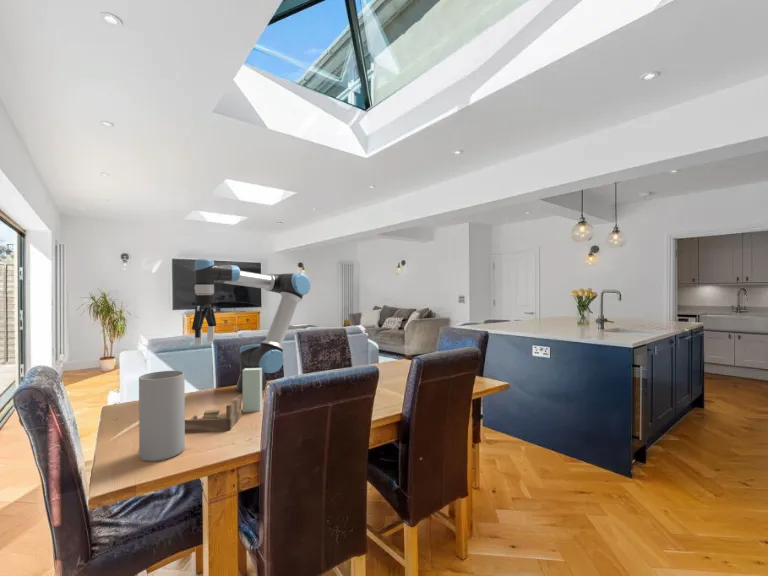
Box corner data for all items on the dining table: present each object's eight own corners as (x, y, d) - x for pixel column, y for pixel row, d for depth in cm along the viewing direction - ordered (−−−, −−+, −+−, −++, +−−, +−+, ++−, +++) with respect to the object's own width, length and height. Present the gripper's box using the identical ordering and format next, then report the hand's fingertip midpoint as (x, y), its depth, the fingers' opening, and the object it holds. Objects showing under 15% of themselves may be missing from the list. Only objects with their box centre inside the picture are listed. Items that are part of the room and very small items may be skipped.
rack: (194, 421, 148) (194, 396, 148) (241, 420, 150) (241, 394, 150) (178, 435, 134) (177, 407, 134) (229, 433, 136) (229, 405, 136)
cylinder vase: (191, 452, 120) (190, 374, 120) (146, 466, 111) (146, 381, 111) (176, 442, 129) (176, 369, 129) (134, 454, 119) (133, 375, 119)
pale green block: (245, 410, 160) (245, 368, 160) (262, 409, 161) (262, 367, 161) (242, 413, 156) (242, 370, 156) (259, 412, 157) (259, 369, 157)
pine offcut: (205, 414, 148) (205, 409, 148) (219, 413, 149) (219, 408, 149) (203, 417, 144) (203, 412, 144) (217, 416, 145) (217, 411, 145)
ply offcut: (205, 418, 148) (205, 413, 148) (221, 417, 149) (221, 413, 149) (201, 422, 144) (201, 417, 144) (217, 421, 145) (217, 416, 145)
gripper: (206, 294, 177) (207, 339, 177) (182, 295, 152) (183, 347, 152) (223, 294, 177) (223, 338, 177) (202, 294, 153) (202, 347, 153)
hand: (204, 343), depth 165 cm, fingers open, 13 cm apart
